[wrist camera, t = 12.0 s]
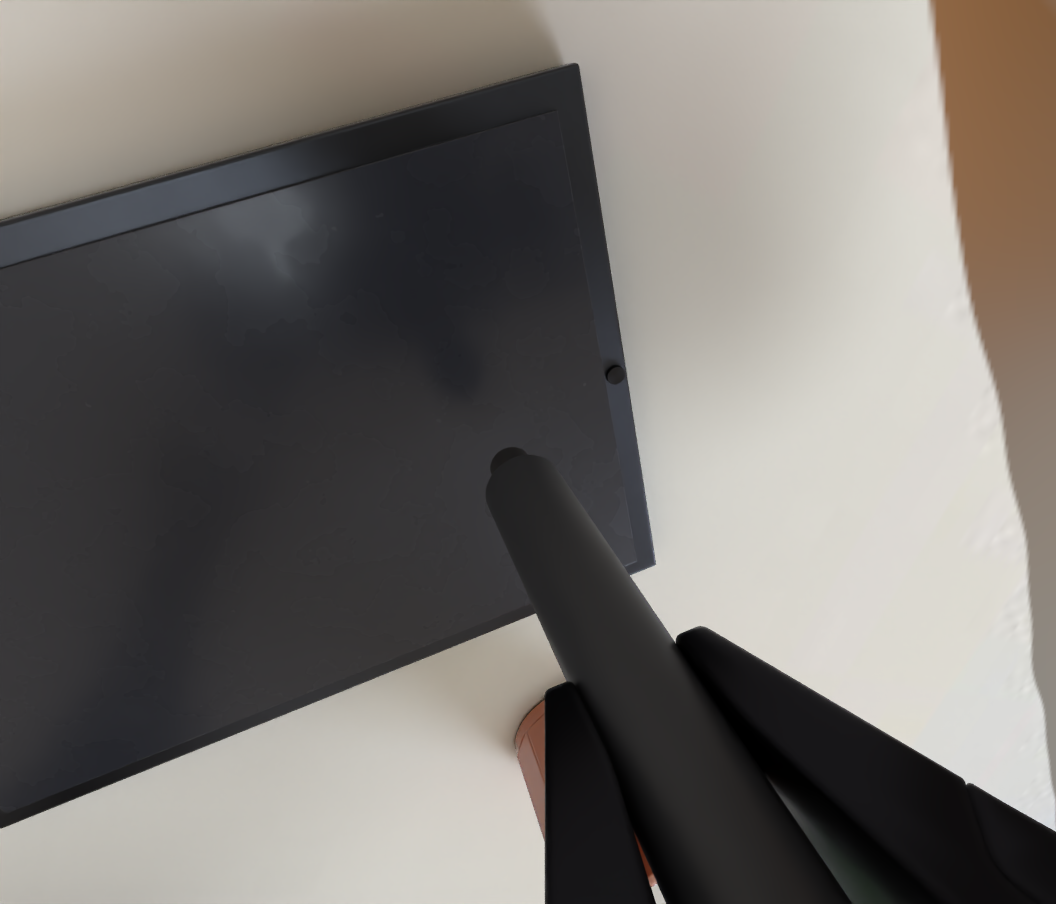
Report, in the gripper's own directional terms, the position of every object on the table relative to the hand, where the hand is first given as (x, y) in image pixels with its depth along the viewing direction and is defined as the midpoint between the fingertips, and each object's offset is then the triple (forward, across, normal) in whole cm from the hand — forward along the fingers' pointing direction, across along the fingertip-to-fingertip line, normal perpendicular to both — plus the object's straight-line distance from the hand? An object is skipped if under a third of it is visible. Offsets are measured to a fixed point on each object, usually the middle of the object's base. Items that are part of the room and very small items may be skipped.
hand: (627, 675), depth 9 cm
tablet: (+9, +6, 0) cm, 11 cm away
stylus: (+6, 0, 0) cm, 6 cm away
